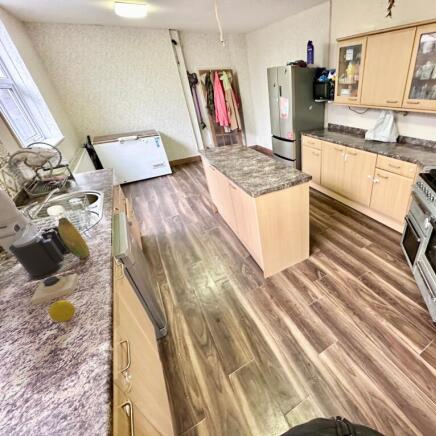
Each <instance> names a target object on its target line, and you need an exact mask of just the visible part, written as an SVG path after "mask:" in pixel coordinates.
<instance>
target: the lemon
mask: <svg viewBox="0 0 436 436" xmlns="http://www.w3.org/2000/svg"><path fill="white" fill-rule="evenodd" d="M75 314H76V307H75V305H74V304H73V303H72V302H70V301H69V300H65V299H62V300H58V301H54V302H53V303H52V304H51V305H50V306H49V309H48V315H49V317H50V319H51V320H52V321H54V322H57V323H66V322H67V321H70V320H71V319H72V318H73V317H74V316H75Z"/></svg>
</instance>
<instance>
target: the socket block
mask: <svg viewBox="0 0 436 436" xmlns="http://www.w3.org/2000/svg"><path fill="white" fill-rule="evenodd" d="M55 276H56V277H57V278H58V279H59V281H58V282H57V283H56V284H54V285H52V286H49V287H47V286H46V285H45V284H44V283H43V282H42V283H39V284H38V286H37V288H36V290H35V291H34V292H33V295H32V297H31V299H30V302H31V303H32V305H34V306H35V305H38V304H41V303H44V302H47V301H50V300H53V299H57V298H59V297H64V296H66V295H69V294H71V293H75V289H76V287H77V284H78V281H79V279H80V276H79V275H78V273H76V272H75V273H72V274H69V275H66V276H63V275H55Z"/></svg>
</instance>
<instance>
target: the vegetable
mask: <svg viewBox="0 0 436 436" xmlns="http://www.w3.org/2000/svg"><path fill="white" fill-rule="evenodd" d="M57 227H58V231H59V234H60V236H61V238H62V240H63V243H64V244H65V246H66V247H67V248H68V249H69V250H70V252H71V254H72V255H73V256H75V257H76V258H79V259H80V258H81V259H84V258H87V257H89V255H90V248H89V245H88V243H87V242H86V241H85V239H84V237H83V236H82V234H81V233H80V232H79V230H78V229H77V227H76V226H75V225H74V224H73V222H71V221H70V220H69V219H68V218H67V217H63V216H62V217H60V218H59V219H58V224H57Z"/></svg>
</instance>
